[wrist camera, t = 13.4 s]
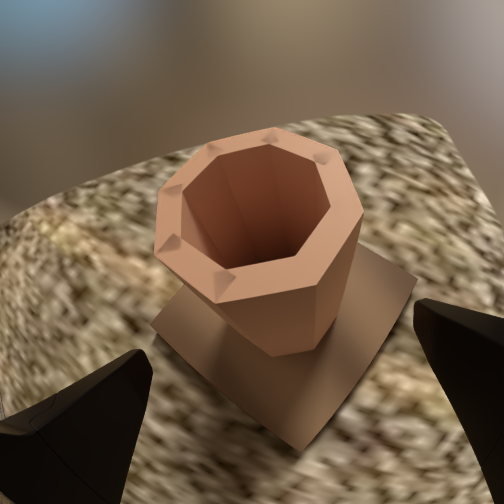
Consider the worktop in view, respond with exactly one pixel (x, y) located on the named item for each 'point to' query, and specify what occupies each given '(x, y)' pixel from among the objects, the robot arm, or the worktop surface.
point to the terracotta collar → (263, 235)
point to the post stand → (298, 364)
